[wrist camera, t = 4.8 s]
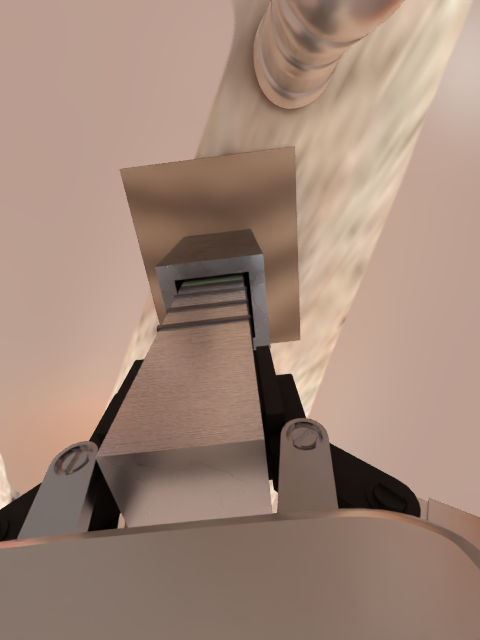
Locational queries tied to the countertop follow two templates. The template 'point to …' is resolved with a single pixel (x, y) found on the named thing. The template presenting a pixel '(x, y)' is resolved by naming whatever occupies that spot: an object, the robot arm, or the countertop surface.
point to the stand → (223, 231)
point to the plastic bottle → (310, 44)
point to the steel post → (192, 416)
